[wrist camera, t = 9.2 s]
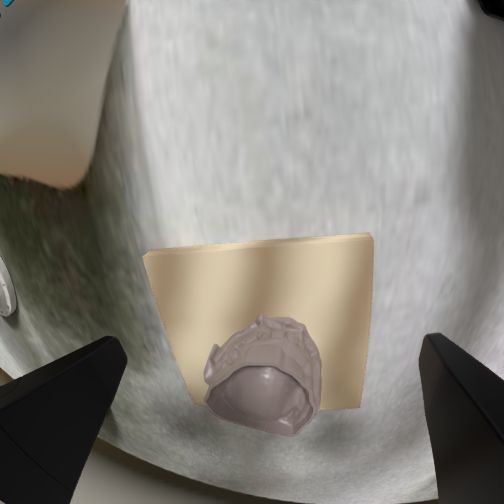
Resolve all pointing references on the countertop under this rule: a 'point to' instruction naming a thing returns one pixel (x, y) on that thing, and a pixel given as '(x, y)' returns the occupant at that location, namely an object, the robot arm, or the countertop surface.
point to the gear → (7, 3)
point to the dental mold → (266, 377)
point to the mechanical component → (6, 291)
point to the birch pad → (270, 302)
